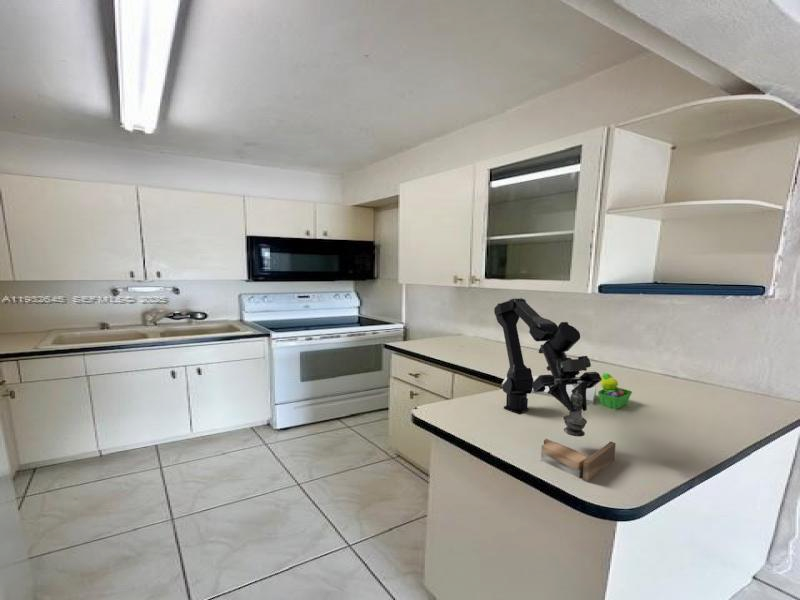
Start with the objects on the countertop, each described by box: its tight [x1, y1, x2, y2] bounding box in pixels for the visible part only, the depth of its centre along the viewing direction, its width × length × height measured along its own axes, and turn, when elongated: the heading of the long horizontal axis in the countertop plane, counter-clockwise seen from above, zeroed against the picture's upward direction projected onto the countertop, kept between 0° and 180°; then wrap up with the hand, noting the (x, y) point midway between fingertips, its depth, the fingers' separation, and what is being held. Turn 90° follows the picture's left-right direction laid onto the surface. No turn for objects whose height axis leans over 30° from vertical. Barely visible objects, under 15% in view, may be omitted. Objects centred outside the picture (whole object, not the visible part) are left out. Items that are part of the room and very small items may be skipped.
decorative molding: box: [501, 375, 597, 405], centre depth 152 cm, size 34×5×10 cm
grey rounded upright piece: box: [563, 390, 588, 438], centre depth 103 cm, size 6×6×12 cm
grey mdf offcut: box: [540, 452, 583, 479], centre depth 95 cm, size 10×4×2 cm, turn 40°
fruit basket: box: [597, 372, 633, 411], centre depth 139 cm, size 11×9×11 cm
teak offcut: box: [540, 440, 588, 471], centre depth 95 cm, size 10×4×2 cm, turn 36°
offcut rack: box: [543, 438, 616, 483], centre depth 98 cm, size 14×16×6 cm
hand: (579, 411), depth 101 cm, fingers closed on grey rounded upright piece, 3 cm apart
